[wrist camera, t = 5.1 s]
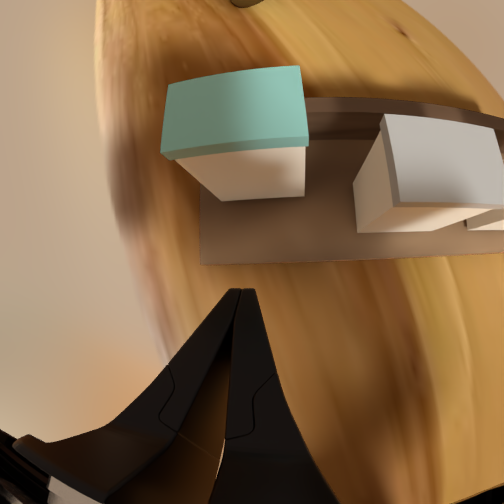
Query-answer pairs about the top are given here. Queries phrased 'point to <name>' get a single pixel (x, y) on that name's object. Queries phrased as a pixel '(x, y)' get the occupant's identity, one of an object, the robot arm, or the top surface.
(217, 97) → the teal key
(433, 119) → the grey key
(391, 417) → the top surface
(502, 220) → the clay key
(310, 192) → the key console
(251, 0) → the kendama
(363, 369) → the top surface
